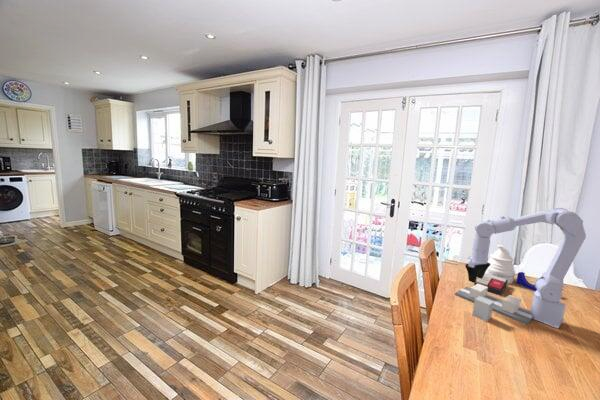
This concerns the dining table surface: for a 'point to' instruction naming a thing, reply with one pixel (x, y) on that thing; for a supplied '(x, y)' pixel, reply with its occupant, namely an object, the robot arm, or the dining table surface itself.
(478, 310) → the block
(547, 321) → the robot arm
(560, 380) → the dining table surface
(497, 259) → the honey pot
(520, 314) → the rail board
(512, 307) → the mounted modules
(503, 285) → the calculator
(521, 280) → the blue shoe
